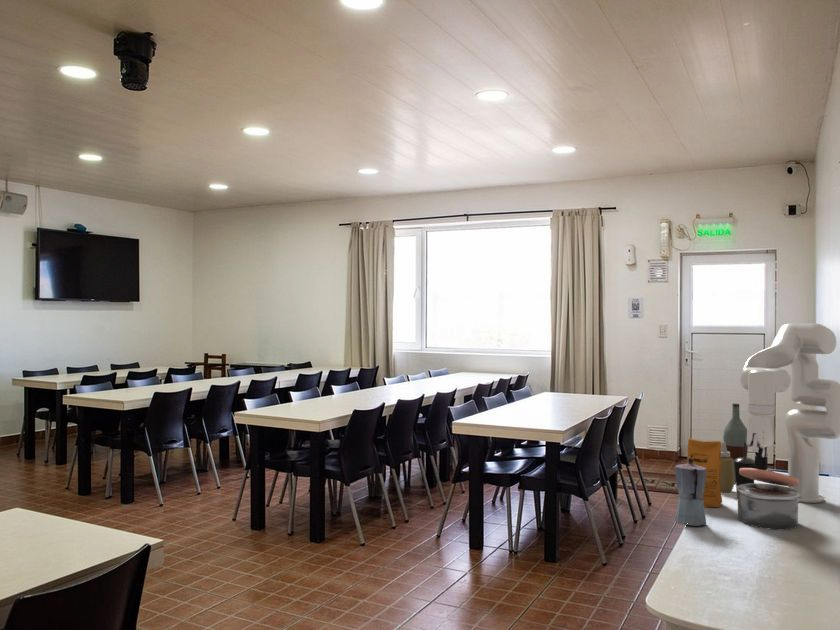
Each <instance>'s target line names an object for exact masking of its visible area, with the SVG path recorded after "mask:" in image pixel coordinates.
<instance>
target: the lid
mask: <svg viewBox="0 0 840 630" xmlns="http://www.w3.org/2000/svg"><path fill="white" fill-rule="evenodd" d="M739 474H740V475H742V476H744V477H747V478H750V479H753V480H754V481H757V482H760V483H761V482H762V483H764V484H773V485H779V486H784V487H788V486H798V485H799V480H797V479H795V478H793V477H790V476H788V474H784V473H781V472H780V473H779V472H775V471H773V470H770V469H767V470H761V469H754V468H740V469H739Z"/></svg>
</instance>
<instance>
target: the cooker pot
mask: <svg viewBox="0 0 840 630" xmlns="http://www.w3.org/2000/svg"><path fill="white" fill-rule="evenodd" d="M737 492H738V499H737V520H738V521H739V522H741V523H742V522H743V524H745V525H747V524H748V526H751V525H753V526H752V527H755V526H757V527H756V528H760V527H762V528H761V529H766V528H770V529H769V530H778V529H785V530H792V528H793V529H796V528H798V526H799V502H798V498H799V492H798V491H796V490H794V489H791V488H788V486H782V485H775V484H770V483H763V482H762V483H761V482H760V483H759V482H756V483H755V482H754V483H748V484H741V485H739V486H737V490H736V493H737ZM795 527H796V528H795Z"/></svg>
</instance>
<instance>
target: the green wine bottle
mask: <svg viewBox="0 0 840 630" xmlns="http://www.w3.org/2000/svg"><path fill="white" fill-rule="evenodd" d="M731 405H732V412H731V415H732V416H731V419H730V420H729V421H728V423H727V424H726V425H725V427H724V429H723V437H722V439H723V441H722V442H725V444H726V448H727V451H728V452H730V458H731V459H736V458H739V457H744V442H745V443H746V457H748V449H749V447H748V446H747V427H746V425H745V424H744V423H743V421H742V419H741V418H740V406H741V405H740V404H739V403H731ZM733 466H734V462H733ZM734 475H735V468H734ZM735 483H736V479H735Z"/></svg>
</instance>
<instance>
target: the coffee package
mask: <svg viewBox="0 0 840 630" xmlns="http://www.w3.org/2000/svg"><path fill="white" fill-rule="evenodd" d="M687 441H688V443H687V455H686V458H687V459H686V464H689V461H688V459H689V458H692V459H694V460H693V464H695V465H698V466H701V467H705V468H707V472H706V480H705V488H704V492H703V498H702V499H703V503H704V508H719V507H720V506H721V505H722V504H723V498H722V497H723V496H722V492H721V490H720V476H721V460H720V456H721V443H722V441H721V440H713V441H711V440H708V441H707V440H706V441H703V440H697V439H694V438H688V440H687Z"/></svg>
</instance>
